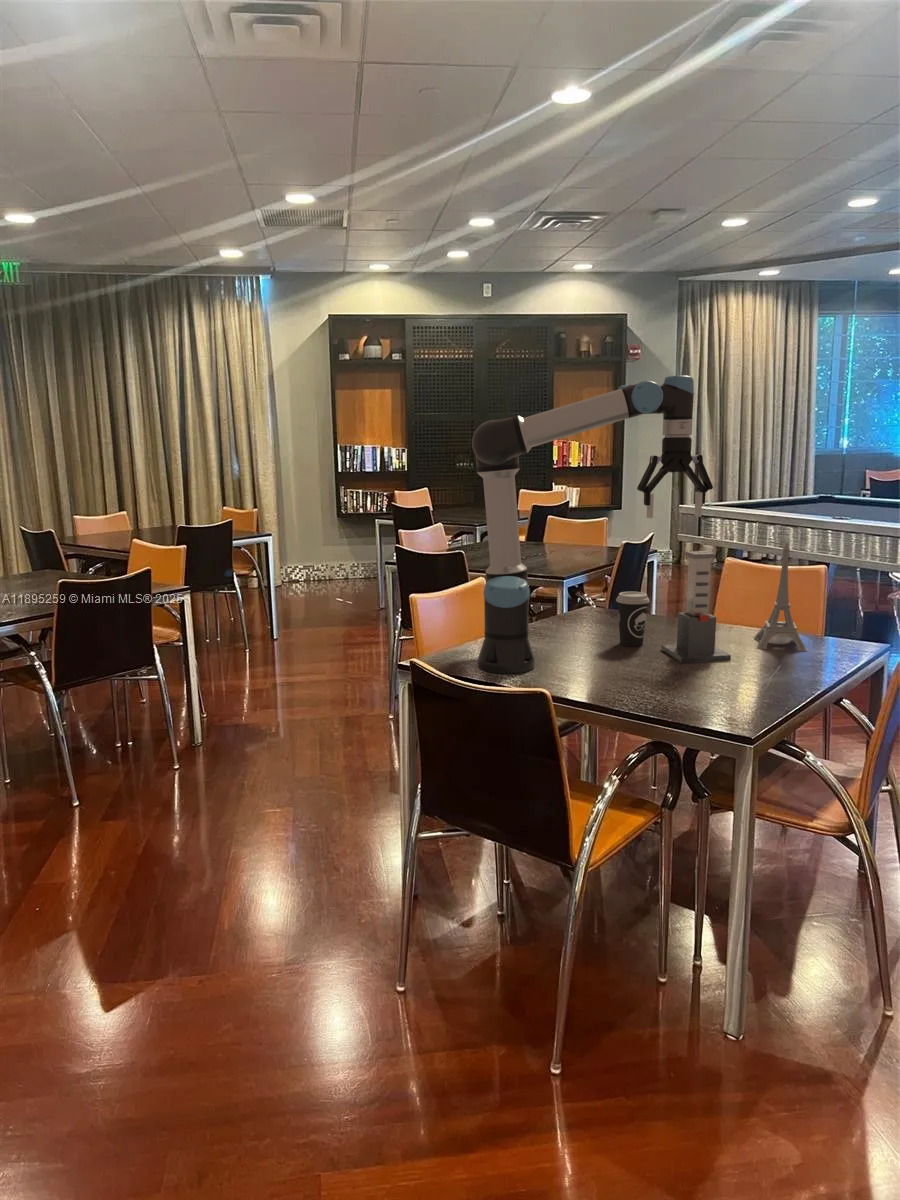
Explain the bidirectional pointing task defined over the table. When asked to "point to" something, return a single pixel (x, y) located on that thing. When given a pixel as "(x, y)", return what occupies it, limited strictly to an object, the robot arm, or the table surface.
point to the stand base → (696, 640)
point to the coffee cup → (632, 617)
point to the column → (698, 582)
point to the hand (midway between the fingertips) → (673, 517)
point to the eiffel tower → (782, 603)
